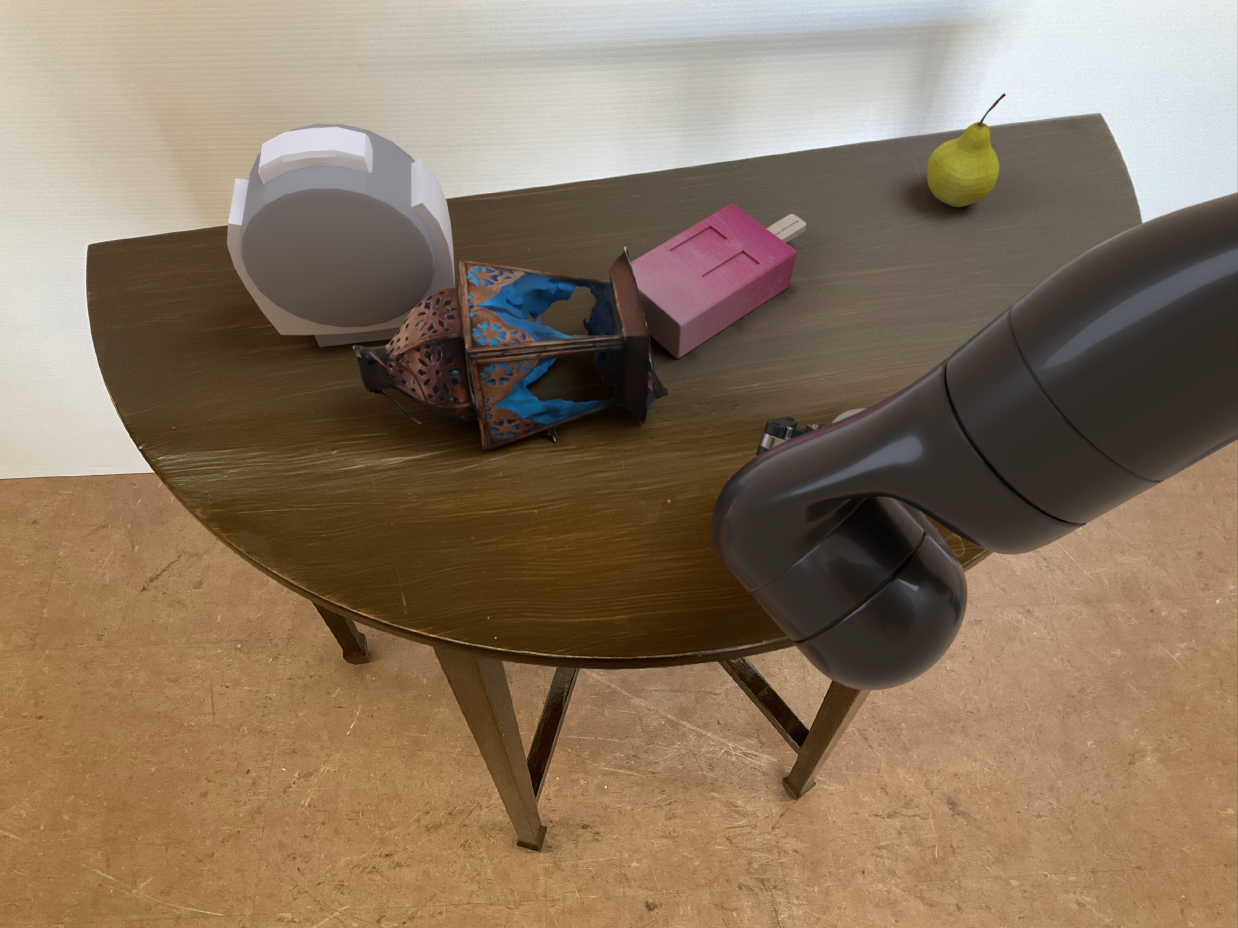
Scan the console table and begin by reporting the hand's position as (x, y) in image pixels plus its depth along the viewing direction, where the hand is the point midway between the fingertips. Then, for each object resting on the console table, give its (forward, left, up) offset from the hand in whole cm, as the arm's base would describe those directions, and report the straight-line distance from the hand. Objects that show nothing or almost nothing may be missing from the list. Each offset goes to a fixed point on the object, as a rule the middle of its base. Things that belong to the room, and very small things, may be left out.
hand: (864, 452), depth 66 cm
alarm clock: (+42, +21, -7) cm, 48 cm away
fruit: (+19, -36, -7) cm, 41 cm away
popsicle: (+25, -8, -7) cm, 27 cm away
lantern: (+26, +15, -7) cm, 31 cm away
